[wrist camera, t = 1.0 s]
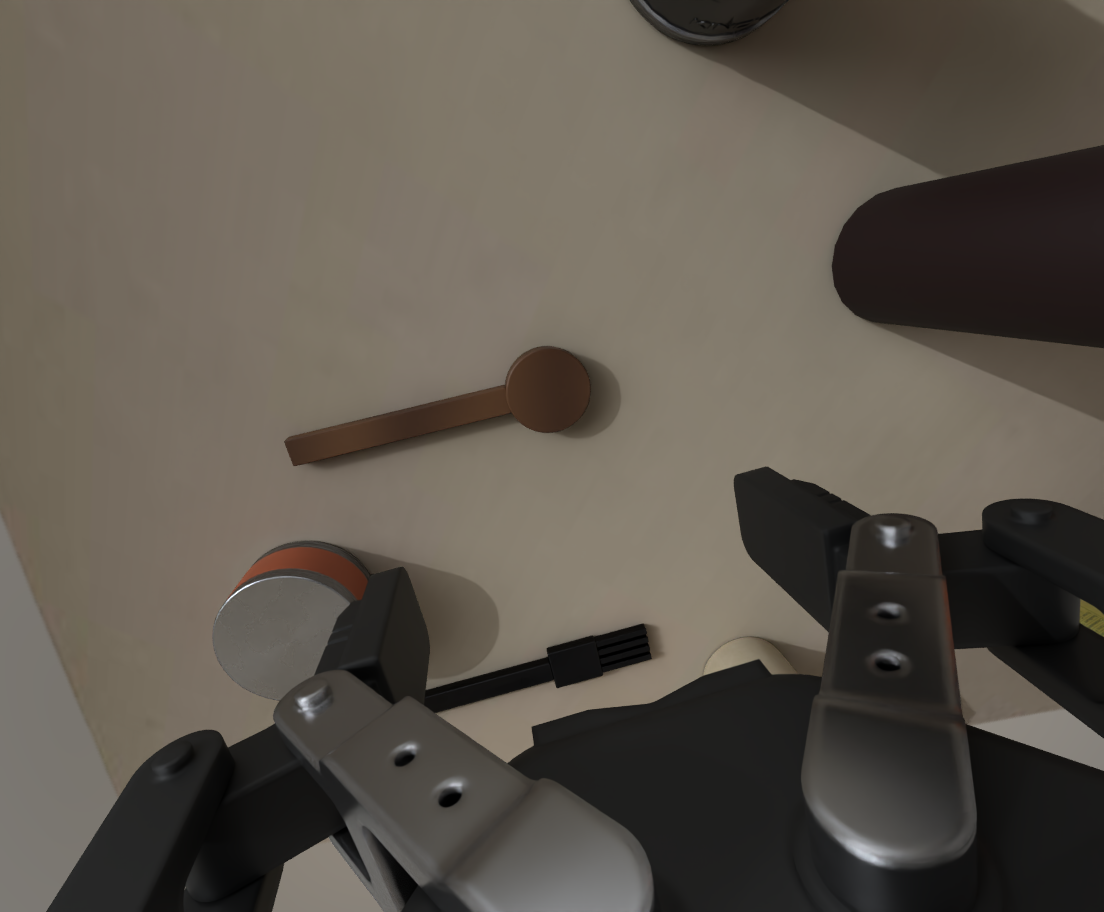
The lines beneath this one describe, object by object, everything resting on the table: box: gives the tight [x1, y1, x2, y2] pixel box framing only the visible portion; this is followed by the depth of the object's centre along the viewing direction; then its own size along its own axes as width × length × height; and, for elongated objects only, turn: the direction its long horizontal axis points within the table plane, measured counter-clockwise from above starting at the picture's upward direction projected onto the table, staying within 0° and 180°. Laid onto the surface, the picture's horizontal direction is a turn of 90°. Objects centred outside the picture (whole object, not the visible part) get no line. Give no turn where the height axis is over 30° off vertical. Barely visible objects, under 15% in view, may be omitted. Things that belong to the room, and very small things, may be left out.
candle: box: [703, 637, 798, 676], centre depth 33 cm, size 6×6×10 cm
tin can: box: [213, 541, 371, 701], centre depth 31 cm, size 7×7×4 cm
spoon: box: [284, 346, 591, 466], centre depth 30 cm, size 16×4×1 cm, turn 102°
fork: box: [424, 624, 652, 713], centre depth 35 cm, size 16×3×1 cm, turn 102°
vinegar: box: [832, 145, 1104, 348], centre depth 22 cm, size 7×7×20 cm
